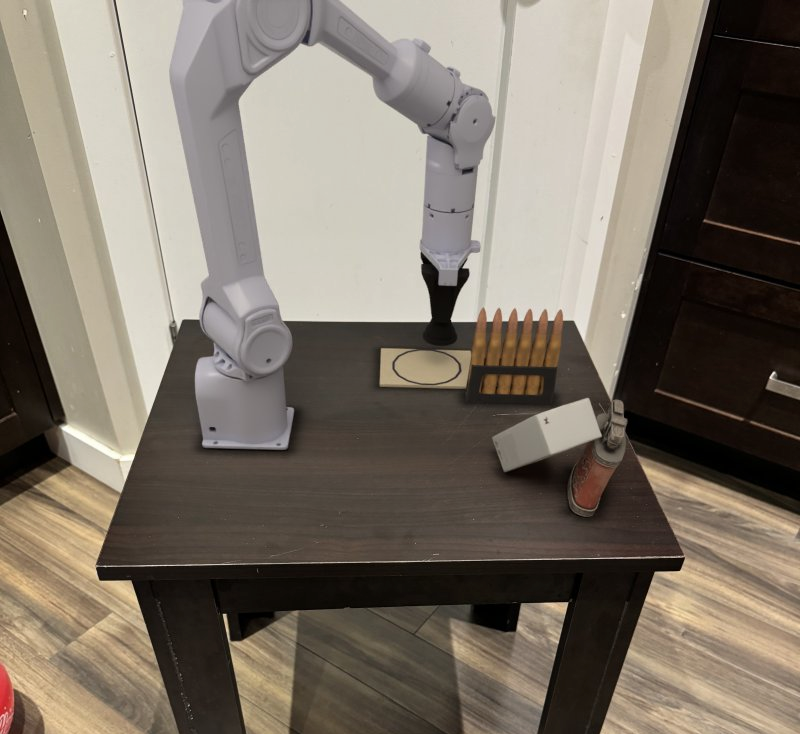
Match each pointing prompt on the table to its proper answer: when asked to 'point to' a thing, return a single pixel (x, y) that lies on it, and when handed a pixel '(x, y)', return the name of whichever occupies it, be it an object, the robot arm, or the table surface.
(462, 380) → the drawing pad
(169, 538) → the table surface
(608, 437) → the lighter
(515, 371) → the ammunition clip
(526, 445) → the cosmetic box
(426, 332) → the chess piece
